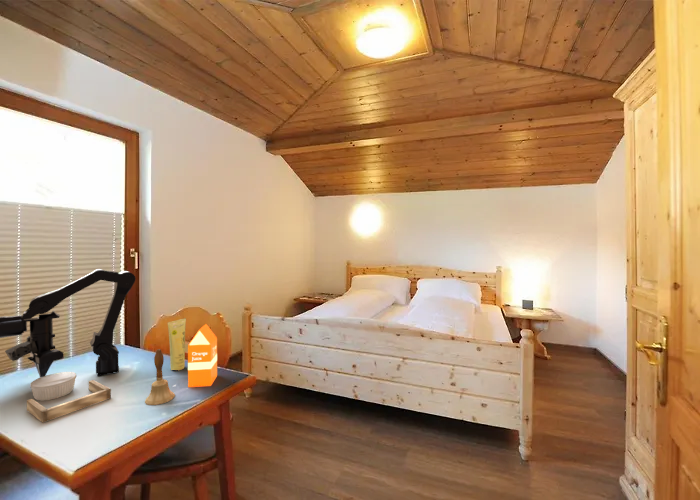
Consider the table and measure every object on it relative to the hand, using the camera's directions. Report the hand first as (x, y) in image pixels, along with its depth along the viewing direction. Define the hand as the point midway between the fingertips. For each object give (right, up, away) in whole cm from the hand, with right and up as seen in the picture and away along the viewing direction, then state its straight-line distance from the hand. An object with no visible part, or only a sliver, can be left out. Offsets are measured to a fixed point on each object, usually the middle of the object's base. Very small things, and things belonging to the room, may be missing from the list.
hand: (42, 376), depth 111 cm
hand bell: (+46, -4, -8) cm, 47 cm away
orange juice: (+54, -4, +5) cm, 54 cm away
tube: (+38, -3, +16) cm, 42 cm away
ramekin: (+9, -4, -5) cm, 11 cm away
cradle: (+20, -4, -12) cm, 23 cm away
